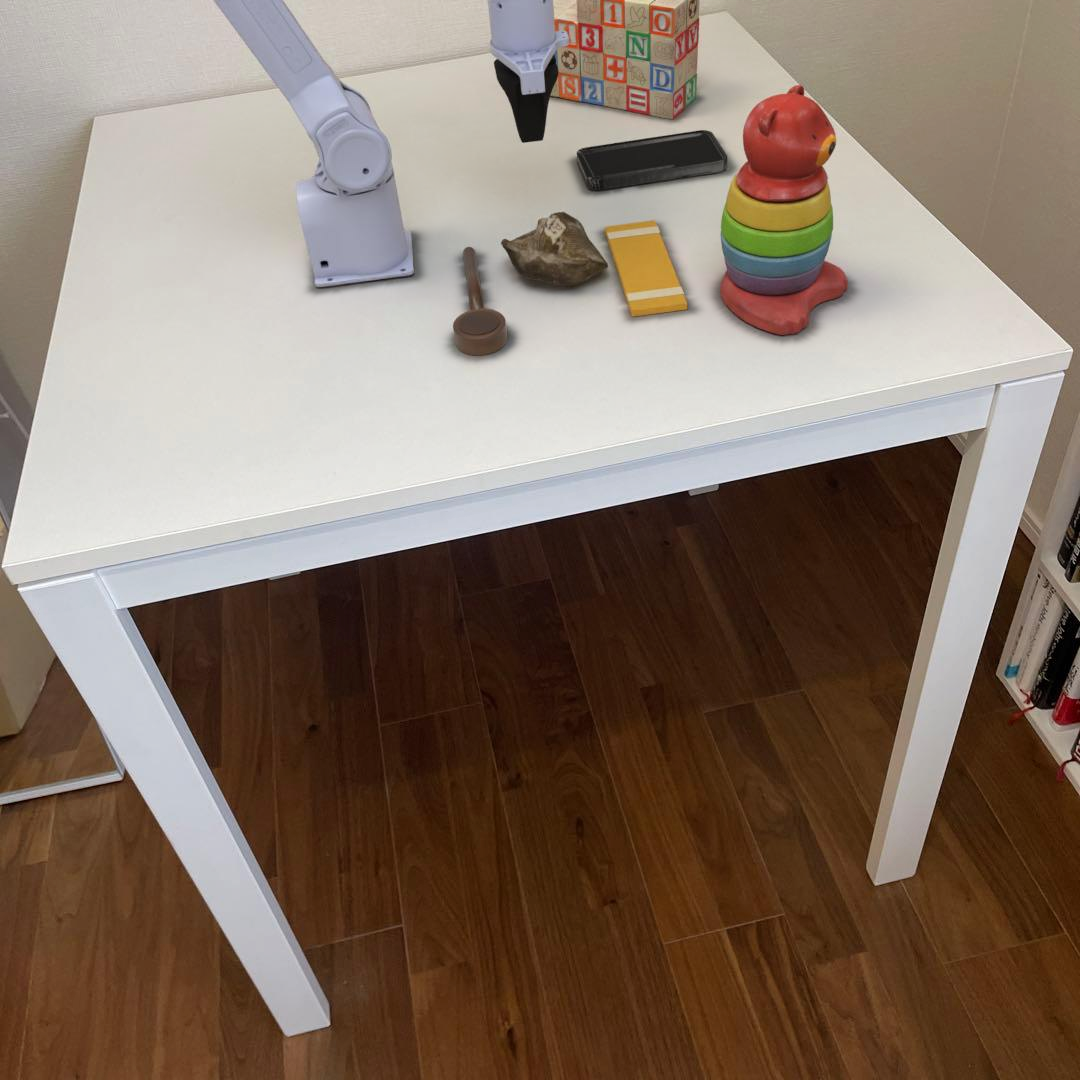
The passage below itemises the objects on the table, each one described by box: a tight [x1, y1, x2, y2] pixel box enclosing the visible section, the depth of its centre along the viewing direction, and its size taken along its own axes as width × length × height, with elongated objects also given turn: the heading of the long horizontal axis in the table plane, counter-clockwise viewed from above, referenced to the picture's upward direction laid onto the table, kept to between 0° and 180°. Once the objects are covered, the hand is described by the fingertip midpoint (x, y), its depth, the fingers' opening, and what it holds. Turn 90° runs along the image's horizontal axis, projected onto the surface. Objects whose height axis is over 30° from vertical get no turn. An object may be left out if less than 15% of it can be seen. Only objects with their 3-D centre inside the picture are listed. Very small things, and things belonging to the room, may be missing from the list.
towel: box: [604, 219, 688, 318], centre depth 103 cm, size 5×15×1 cm, turn 7°
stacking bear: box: [719, 84, 849, 336], centre depth 92 cm, size 11×10×18 cm
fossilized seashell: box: [500, 211, 609, 287], centre depth 102 cm, size 8×7×10 cm
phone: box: [576, 129, 728, 191], centre depth 117 cm, size 8×1×15 cm
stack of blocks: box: [550, 0, 700, 120], centre depth 126 cm, size 21×6×12 cm, turn 58°
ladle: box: [452, 246, 508, 357], centre depth 101 cm, size 17×5×2 cm, turn 7°
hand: (531, 138), depth 105 cm, fingers closed
